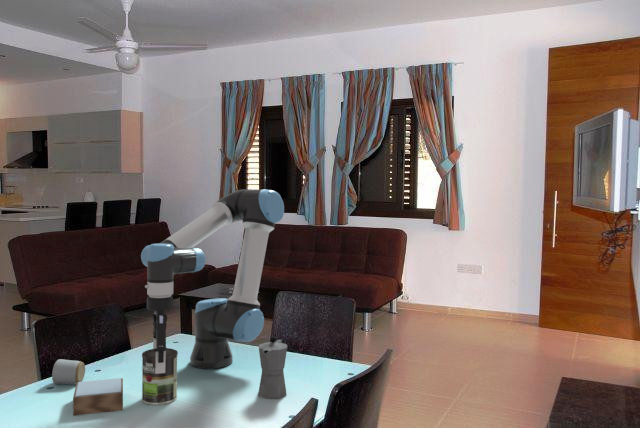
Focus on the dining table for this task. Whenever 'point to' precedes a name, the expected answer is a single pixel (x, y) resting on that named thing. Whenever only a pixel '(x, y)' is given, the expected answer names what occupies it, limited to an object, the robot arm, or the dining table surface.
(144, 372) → the coffee can
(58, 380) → the ceramic mug
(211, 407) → the dining table surface
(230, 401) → the dining table surface
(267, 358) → the coffeepot
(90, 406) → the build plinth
